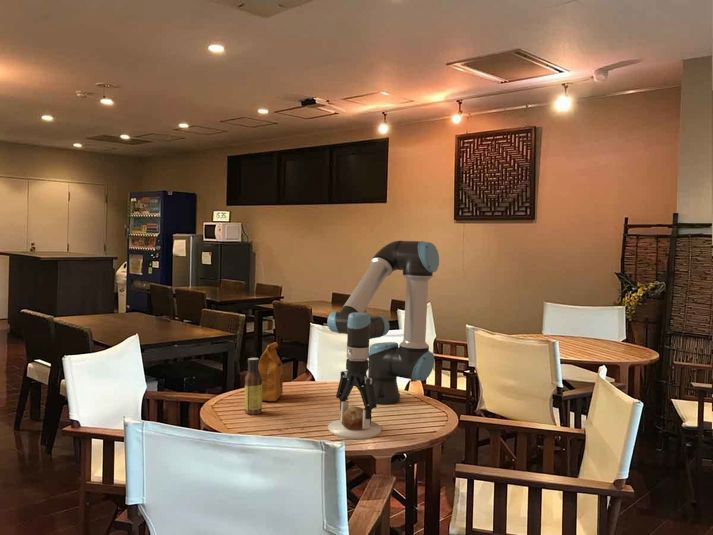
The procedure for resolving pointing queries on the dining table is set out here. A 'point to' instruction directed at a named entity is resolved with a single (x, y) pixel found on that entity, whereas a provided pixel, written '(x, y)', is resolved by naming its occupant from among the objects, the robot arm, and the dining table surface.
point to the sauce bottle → (253, 388)
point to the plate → (354, 431)
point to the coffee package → (271, 374)
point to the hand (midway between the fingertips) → (354, 423)
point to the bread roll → (353, 418)
